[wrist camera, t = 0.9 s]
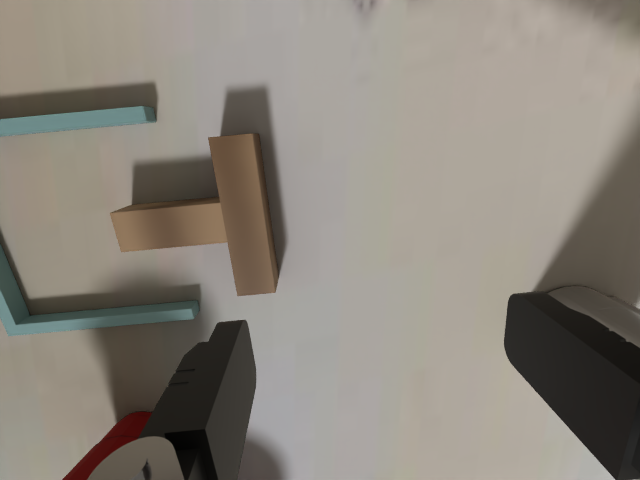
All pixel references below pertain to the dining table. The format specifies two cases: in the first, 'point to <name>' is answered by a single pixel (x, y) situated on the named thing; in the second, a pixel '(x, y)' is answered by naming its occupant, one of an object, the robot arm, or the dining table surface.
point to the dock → (9, 305)
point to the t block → (215, 217)
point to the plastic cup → (110, 444)
